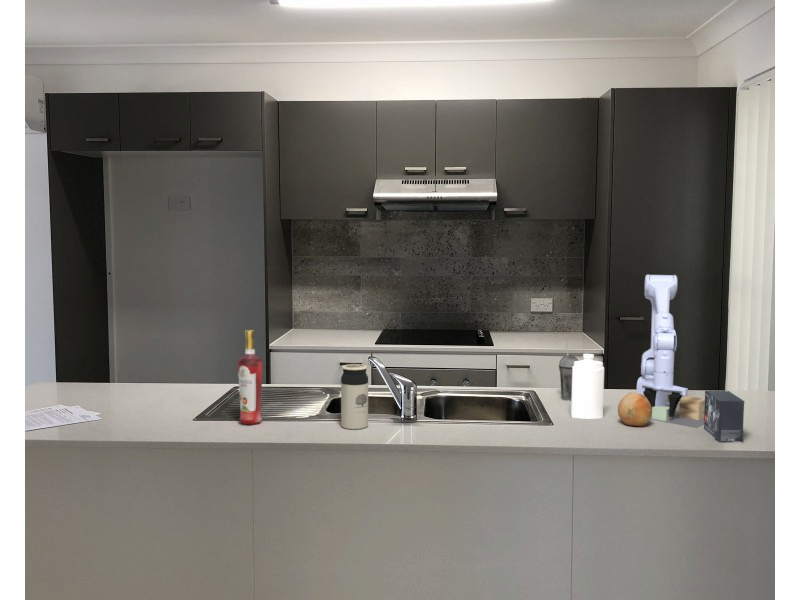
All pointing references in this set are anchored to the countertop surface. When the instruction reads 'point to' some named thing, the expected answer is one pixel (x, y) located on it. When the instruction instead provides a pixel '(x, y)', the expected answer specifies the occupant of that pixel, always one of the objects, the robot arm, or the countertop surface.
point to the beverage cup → (566, 375)
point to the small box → (724, 416)
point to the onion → (634, 409)
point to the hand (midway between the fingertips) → (661, 414)
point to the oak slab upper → (692, 403)
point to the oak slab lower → (691, 414)
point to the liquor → (250, 383)
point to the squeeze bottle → (587, 388)
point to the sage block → (660, 413)
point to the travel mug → (354, 396)
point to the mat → (683, 421)
